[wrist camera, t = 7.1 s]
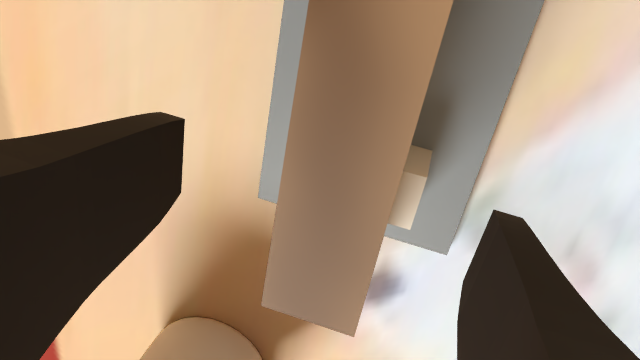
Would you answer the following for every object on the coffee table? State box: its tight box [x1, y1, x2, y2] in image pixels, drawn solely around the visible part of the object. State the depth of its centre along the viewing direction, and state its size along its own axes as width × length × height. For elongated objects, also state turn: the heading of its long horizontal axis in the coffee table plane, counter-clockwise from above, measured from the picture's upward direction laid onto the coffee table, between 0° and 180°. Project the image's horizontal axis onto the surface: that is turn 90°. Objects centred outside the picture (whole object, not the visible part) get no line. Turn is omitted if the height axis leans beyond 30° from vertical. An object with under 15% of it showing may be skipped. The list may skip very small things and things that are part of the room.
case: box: [261, 0, 453, 337], centre depth 15 cm, size 3×14×5 cm, turn 170°
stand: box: [258, 0, 544, 255], centre depth 19 cm, size 9×16×3 cm, turn 170°
